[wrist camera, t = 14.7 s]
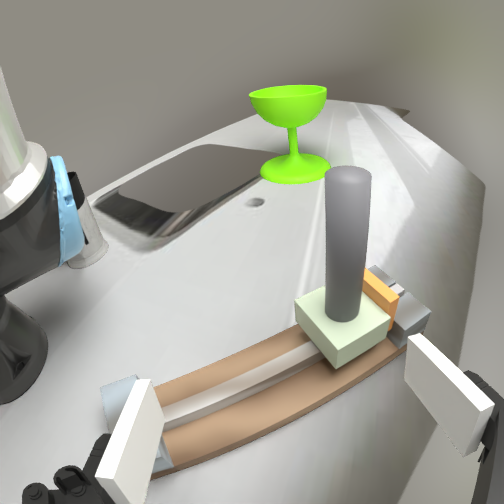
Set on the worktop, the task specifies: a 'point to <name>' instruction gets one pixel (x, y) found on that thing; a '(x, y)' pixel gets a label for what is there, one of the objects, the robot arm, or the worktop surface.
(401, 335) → the rail base
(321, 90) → the wineglass
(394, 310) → the orange block
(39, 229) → the robot arm
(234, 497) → the worktop surface
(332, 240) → the carriage
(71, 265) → the glass holder
